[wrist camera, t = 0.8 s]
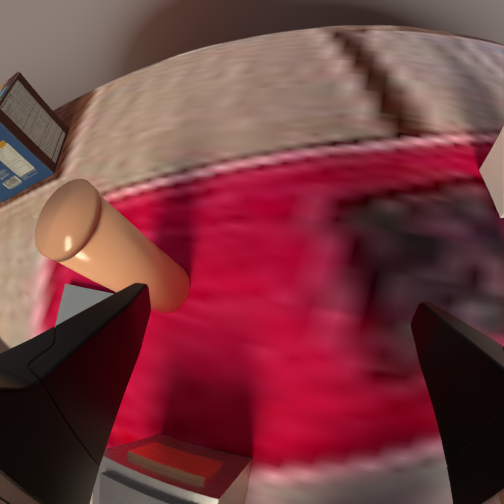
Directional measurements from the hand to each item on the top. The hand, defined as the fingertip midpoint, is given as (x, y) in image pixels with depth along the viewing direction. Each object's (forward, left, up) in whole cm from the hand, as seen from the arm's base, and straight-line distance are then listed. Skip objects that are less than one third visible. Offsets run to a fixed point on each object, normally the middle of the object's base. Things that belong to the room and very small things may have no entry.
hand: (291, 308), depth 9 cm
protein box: (+20, +47, -15) cm, 53 cm away
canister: (+3, +13, -14) cm, 19 cm away
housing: (-14, +7, -14) cm, 21 cm away
